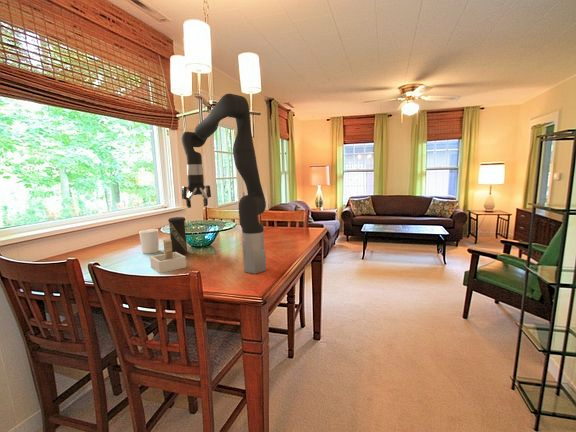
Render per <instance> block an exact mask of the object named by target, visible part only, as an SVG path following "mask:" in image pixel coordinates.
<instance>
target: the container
mask: <svg viewBox="0 0 576 432" xmlns="http://www.w3.org/2000/svg"><path fill="white" fill-rule="evenodd" d="M167 221H168V224H169V236H170V237H169V239H170V240H171V242H172V252H177V253H179V254H181V255H183V256H185V255H187V254H188V247H187V246H188V245H187V244H188V243H187V235H186V234H187V233H186V223H185V221H186V218H185V217H184V216H175V217H169V218H168V219H167Z"/></svg>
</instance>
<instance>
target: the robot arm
mask: <svg viewBox="0 0 576 432" xmlns="http://www.w3.org/2000/svg"><path fill="white" fill-rule="evenodd" d="M250 116H251V114H250V105H249V102H248V100H247V98H246V97H245V96H242V95H239V94H234V93H226V94H224V95H223V96H221V98H220V99H219V100H218V102H217V103H216V104H215V106H214V107H213V108H212V109H211V111H210V112H209V113H208V115H207V116H206V117H205V118H204V119H203V120H202V121H201V122H199V123H198V125H196V126H195V128H194V131H184V132H183V133H182V135H181V137H180V139H181V145H182V148H183V150H184V153H185V156H186V176H187V184H188V185H187V186H181V199H182V200H184V201H185V203H186V207H187V208H189V209H191V208H192V204H191V203H192V202H191V198H192V197H193V196H197V195H200V196H202V198H203V202H202V203H203V207H208V204H209V202H208V201H209V200H208V199H209V198H211V197H212V192H211V186H210V185H204V182H205V179H204V168H203V159H202V158H203V157H202V154H201V152H198V151H196V150H195V148H200V147H201V148H202V147H203V146H204V145H205V143H206V142H207V140H208V138H209V137H211V136H212V135H213V134H214V133H216V131H217V130H218V128H219V123H220V121H222V120H224V119H226V118H231V119H232V118H233V119H235V122H236V129H237V131H236V137H235V140H234V143H233V144H232V145H233V146H232V155H233V160H234V161H233V162H234V165H235V169H236V170H237V172H238V173H239V175H240V176H241V178H242V179H243V181H244V184H245V187H246V193H247V194H246V195H243V196H242V197H241V198H240V199H239V201H238V217H239V225H240V227H241V232H242V233H241V234H242V235H241V236H242V237H241V238H242V257H243V258H242V261H243V272H245V273H248V274H253V275H254V274H255V275H256V274H259V273H262V272H266V271H267V255H266V249H265V236H264V233H265V231H264V225H263V224H262V223H260V222H259V215H262V214H263V213H264V212H265V211H266V208H267V202H266V198H265V194H264V191H263V186H262V182H261V180H260V174H259V169H258V168H259V167H258V162H257V156H256V151H255V146H254V140H253V135H252V134H253V132H252V128H251V125H252V124H251V117H250ZM187 191H189V192H188V193H187Z"/></svg>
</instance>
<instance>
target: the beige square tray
mask: <svg viewBox="0 0 576 432" xmlns="http://www.w3.org/2000/svg"><path fill="white" fill-rule="evenodd" d="M172 254H173V259H168V260H165V253H163V254H157V255H151V256H149V260H150V261H149V262H150V268H151V269H153V270H155V271H156V272H158V273H159V274H162V273H165V272H166V273H167V272H171V271H175V270H179V269H184V268H187V256H185V255H181V254H179V253H177V252H172Z"/></svg>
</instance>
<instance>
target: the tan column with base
mask: <svg viewBox="0 0 576 432" xmlns="http://www.w3.org/2000/svg"><path fill="white" fill-rule="evenodd" d="M163 251H164V254H165V260H168V259H173V254H172V242H171V239H170V238H169V239H167V238H166V239H163Z"/></svg>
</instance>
